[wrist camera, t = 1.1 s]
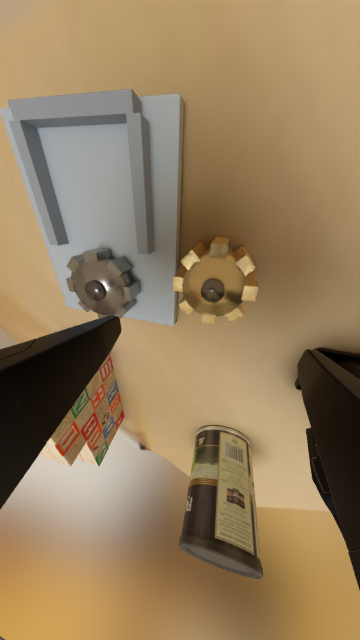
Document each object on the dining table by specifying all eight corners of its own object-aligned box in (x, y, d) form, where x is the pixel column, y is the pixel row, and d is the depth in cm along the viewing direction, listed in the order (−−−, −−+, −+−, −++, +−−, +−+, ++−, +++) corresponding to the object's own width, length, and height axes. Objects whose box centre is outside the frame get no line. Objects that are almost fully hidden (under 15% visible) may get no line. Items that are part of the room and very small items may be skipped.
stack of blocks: (125, 416, 38) (87, 490, 28) (100, 409, 40) (55, 477, 29) (107, 341, 27) (33, 418, 17) (73, 334, 28) (-16, 402, 18)
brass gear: (260, 239, 15) (272, 249, 11) (243, 306, 19) (246, 334, 14) (186, 234, 16) (171, 241, 12) (183, 298, 20) (170, 320, 16)
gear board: (184, 103, 12) (174, 79, 10) (176, 320, 22) (170, 332, 20) (13, 114, 15) (-23, 98, 13) (73, 303, 24) (58, 311, 22)
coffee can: (198, 448, 37) (183, 554, 26) (194, 420, 32) (173, 537, 21) (249, 459, 35) (259, 584, 23) (253, 431, 30) (268, 573, 18)
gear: (137, 251, 17) (121, 257, 15) (142, 314, 21) (131, 327, 18) (74, 245, 18) (50, 250, 16) (90, 305, 22) (73, 317, 20)
